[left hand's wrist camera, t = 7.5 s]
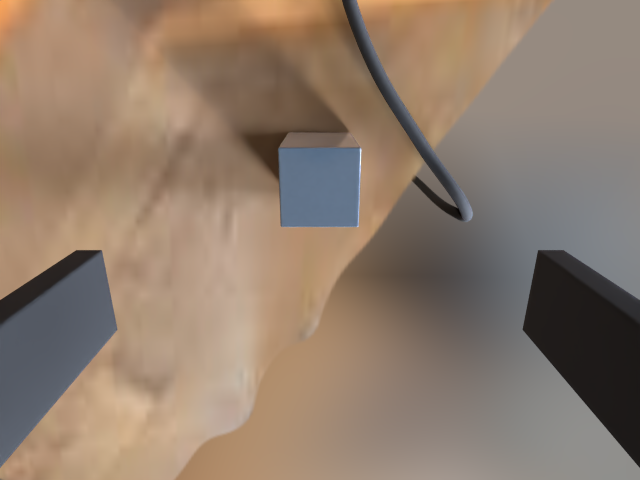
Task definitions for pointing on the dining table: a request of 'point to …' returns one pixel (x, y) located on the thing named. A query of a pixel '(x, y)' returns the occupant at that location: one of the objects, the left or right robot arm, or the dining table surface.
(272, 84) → the dining table surface
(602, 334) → the left robot arm
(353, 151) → the block
